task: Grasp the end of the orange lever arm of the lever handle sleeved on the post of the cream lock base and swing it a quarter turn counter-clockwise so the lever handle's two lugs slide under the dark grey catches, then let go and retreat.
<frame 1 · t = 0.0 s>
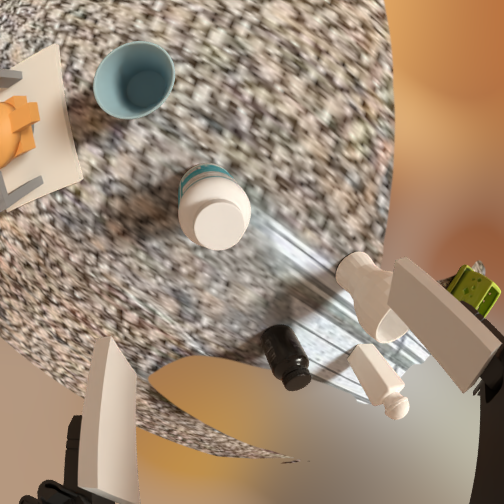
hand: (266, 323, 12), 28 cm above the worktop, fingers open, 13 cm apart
flower pot: (456, 283, 64), on the worktop
pill bottle: (206, 188, 37), on the worktop
supplement bottle: (276, 335, 53), on the worktop
cup: (146, 89, 28), on the worktop
lock base: (27, 129, 25), on the worktop
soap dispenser: (359, 350, 64), on the worktop
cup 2: (352, 269, 50), on the worktop
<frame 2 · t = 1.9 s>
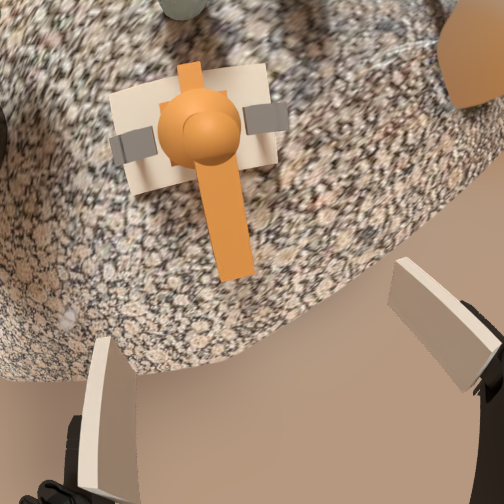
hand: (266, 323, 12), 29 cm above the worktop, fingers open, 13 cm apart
lever handle: (204, 145, 22), point 13 cm above the worktop, hinge at 0.0°
cup: (183, 5, 24), on the worktop
lock base: (194, 125, 33), on the worktop
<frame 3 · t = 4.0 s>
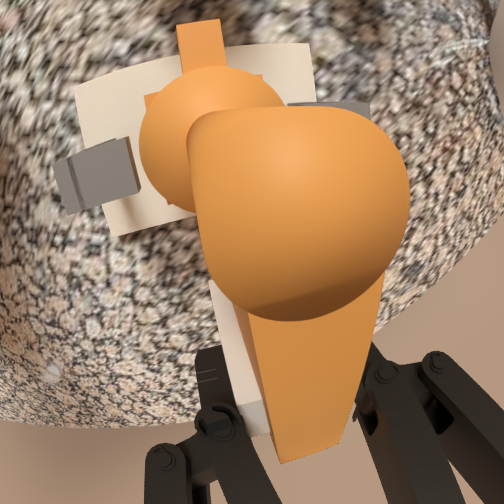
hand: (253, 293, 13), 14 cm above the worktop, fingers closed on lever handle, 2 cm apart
lever handle: (231, 178, 12), point 13 cm above the worktop, hinge at 0.0°, touching gripper
lock base: (203, 130, 22), on the worktop
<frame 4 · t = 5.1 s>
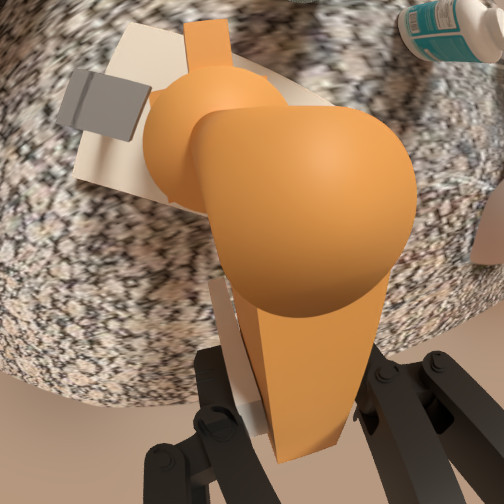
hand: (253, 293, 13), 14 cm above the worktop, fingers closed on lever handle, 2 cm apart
lever handle: (234, 177, 12), point 13 cm above the worktop, hinge at 30.9°, touching gripper
pill bottle: (415, 34, 20), on the worktop
lock base: (205, 130, 22), on the worktop
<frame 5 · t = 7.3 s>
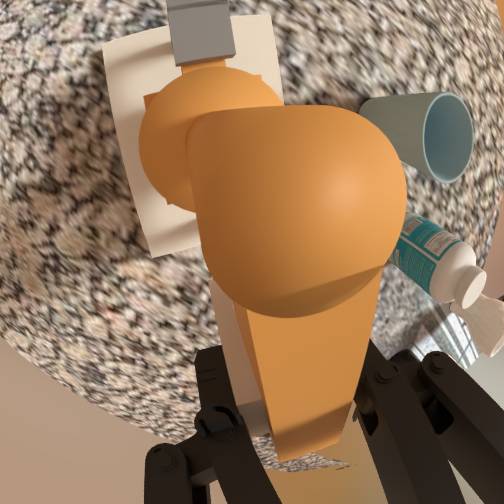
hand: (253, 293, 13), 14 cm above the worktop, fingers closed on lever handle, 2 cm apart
lever handle: (230, 178, 12), point 13 cm above the worktop, hinge at 90.1°, touching gripper
pill bottle: (401, 235, 34), on the worktop
supplement bottle: (398, 358, 50), on the worktop
cup: (375, 122, 25), on the worktop
lock base: (202, 130, 22), on the worktop
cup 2: (460, 295, 47), on the worktop
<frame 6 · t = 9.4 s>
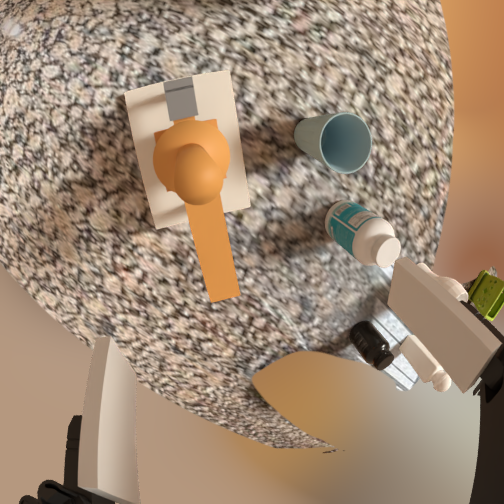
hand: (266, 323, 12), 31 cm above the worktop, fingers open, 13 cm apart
lever handle: (195, 175, 25), point 13 cm above the worktop, hinge at 90.2°
flower pot: (476, 284, 75), on the worktop
pill bottle: (340, 218, 47), on the worktop
supplement bottle: (359, 329, 63), on the worktop
cup: (309, 135, 39), on the worktop
lock base: (188, 148, 36), on the worktop
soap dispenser: (407, 341, 74), on the worktop
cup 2: (415, 275, 60), on the worktop
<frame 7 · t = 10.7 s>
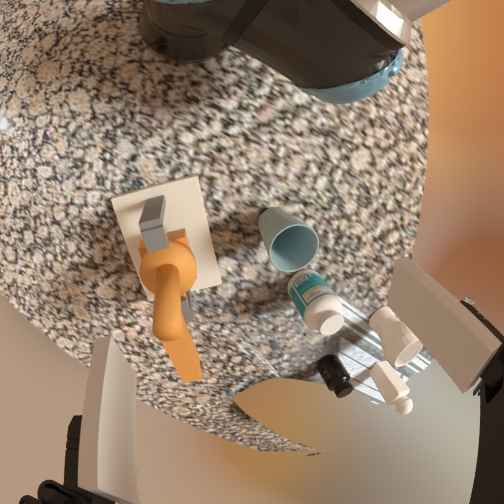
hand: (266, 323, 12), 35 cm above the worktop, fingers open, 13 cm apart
lever handle: (170, 293, 35), point 13 cm above the worktop, hinge at 90.2°
pill bottle: (302, 282, 57), on the worktop
supplement bottle: (326, 361, 74), on the worktop
cup: (272, 221, 49), on the worktop
lock base: (169, 240, 46), on the worktop
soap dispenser: (377, 366, 85), on the worktop
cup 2: (379, 316, 70), on the worktop
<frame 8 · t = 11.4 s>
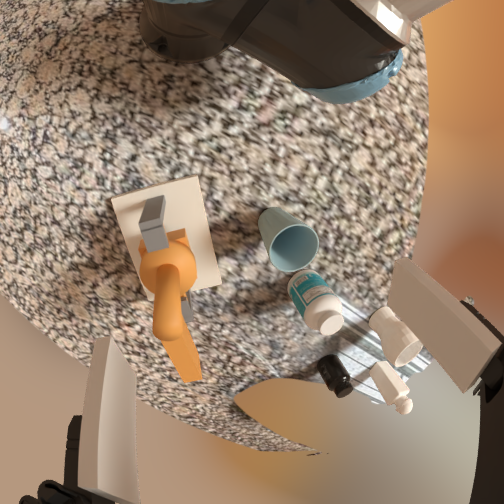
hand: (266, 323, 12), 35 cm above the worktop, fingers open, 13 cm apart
lever handle: (170, 293, 35), point 13 cm above the worktop, hinge at 90.2°
pill bottle: (302, 282, 57), on the worktop
supplement bottle: (326, 361, 74), on the worktop
cup: (272, 221, 49), on the worktop
lock base: (169, 240, 46), on the worktop
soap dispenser: (377, 366, 85), on the worktop
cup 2: (379, 316, 70), on the worktop
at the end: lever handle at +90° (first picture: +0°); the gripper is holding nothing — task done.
